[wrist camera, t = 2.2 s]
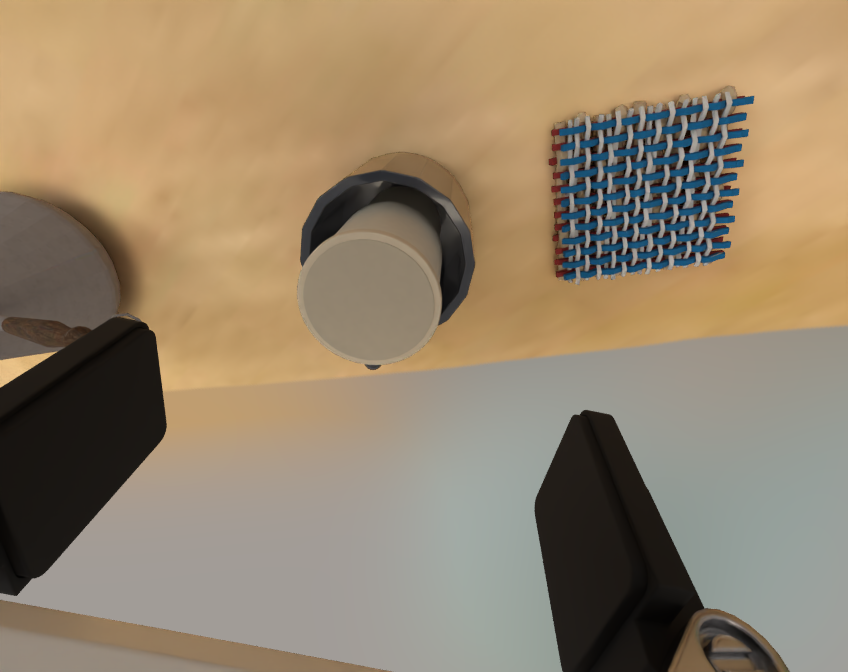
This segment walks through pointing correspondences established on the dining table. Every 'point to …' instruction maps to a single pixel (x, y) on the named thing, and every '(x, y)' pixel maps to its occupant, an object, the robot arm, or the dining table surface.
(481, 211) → the dining table surface
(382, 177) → the mug
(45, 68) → the dining table surface
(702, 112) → the woven mat
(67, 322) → the coffee pot
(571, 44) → the dining table surface
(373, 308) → the paper cup
